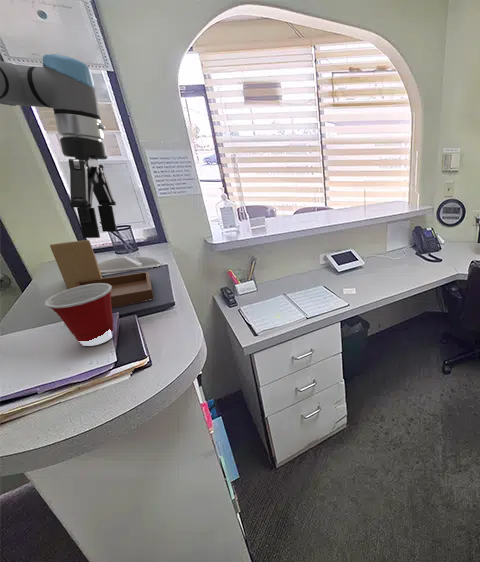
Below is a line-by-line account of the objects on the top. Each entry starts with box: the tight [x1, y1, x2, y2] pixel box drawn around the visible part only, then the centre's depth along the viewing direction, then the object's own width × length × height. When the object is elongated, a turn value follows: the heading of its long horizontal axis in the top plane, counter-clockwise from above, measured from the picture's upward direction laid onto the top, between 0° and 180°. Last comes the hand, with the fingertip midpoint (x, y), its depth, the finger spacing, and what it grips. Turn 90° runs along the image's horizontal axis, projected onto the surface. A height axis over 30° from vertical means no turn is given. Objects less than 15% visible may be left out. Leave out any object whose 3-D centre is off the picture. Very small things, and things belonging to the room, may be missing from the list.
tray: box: [75, 271, 155, 309], centre depth 90 cm, size 18×18×3 cm
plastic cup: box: [43, 283, 114, 342], centre depth 67 cm, size 11×11×12 cm
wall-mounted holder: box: [97, 255, 162, 275], centre depth 111 cm, size 6×5×20 cm
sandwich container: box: [49, 239, 103, 290], centre depth 97 cm, size 9×15×15 cm, turn 42°
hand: (101, 234), depth 74 cm, fingers open, 13 cm apart
